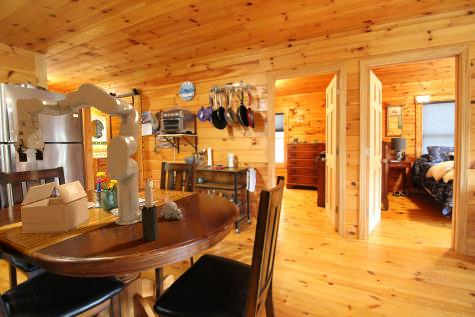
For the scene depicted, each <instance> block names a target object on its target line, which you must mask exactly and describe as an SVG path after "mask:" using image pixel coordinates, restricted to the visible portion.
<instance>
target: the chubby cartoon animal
mask: <svg viewBox="0 0 475 317" xmlns="http://www.w3.org/2000/svg"><path fill="white" fill-rule="evenodd" d="M159 215H160V216H162V217H164V219H166V220H169V219H171V218H174V217H175V218H176V219H177V220H181V219H182V218H183V213H182V208H178V205H177V203H176V202H175V201H173V200H169V201H166V202H164V203H163V206H162V209H161V211H160V214H159Z"/></svg>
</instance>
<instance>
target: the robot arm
mask: <svg viewBox="0 0 475 317" xmlns="http://www.w3.org/2000/svg"><path fill="white" fill-rule="evenodd" d="M91 107H93V108H95V109H96V110H98V111H100V112H102V113H103V114H105V115H108V116H111V117H116V118H120V124H119V127H118V129H119V132H118V135H116V136H114V137H112V138H111V139H110V140H109V142H108V145H107V154H106V155H107V156H106V173H107V175H108V176H109V178H111V179H112V180H115V181H116V182H117V183H116V195H117V214H118V217H117V218H116V219H115V221H114V223H115V225H121V226H124V225H125V226H126V225H133V224H136V223H137V224H138V223H139V222H142V211H141V209H140V199H139V196H140V195H139V172H140V169H139V163H138V162H137V161H136V160H135V159H133V158H131V157H130V156H131V155H134V154H136V152H137V151H138V147H139V146H138V145H139V128H140V127H139V126H140V116H139V112H138V110H137V109H136V107H135V106H133V104H131V103H129V102H128V101H126V100H123V99H121V98H117V97H115V96H113V95H111V94H110V93H108V92H107V91H106V90H105V89H104V88H103V87H100V86H99V85H96V84H93V83H92V82H84V83H82V84H81V85H80V86H78V88H77V90H72V91H69V92H68V93H66V98H65V99H59V100H52V99H47V98H42V97H32V98H18V99H17V100H16V113H17V127H18V128H17V135H16V136H17V137H16V138H17V141H16V142H14V143H13V147H14V148H15V149H14V150H15V151H16V154H17V155H18V162H19V163H27V162H28V153H27V151H28V150H34V151H35V152H34V153H35V155H34V156H35V161H44V150H45V148H46V143H45V142H44V138H43V137H44V136H43V133H42V129H41V127H40V118H39V116H40V115H44V116H50V117H58V116H64V115H69V114H73V113H75V112H76V111H78V110H81V109H86V108H91Z"/></svg>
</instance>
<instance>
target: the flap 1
mask: <svg viewBox="0 0 475 317" xmlns="http://www.w3.org/2000/svg"><path fill="white" fill-rule="evenodd" d="M57 183H58V181H53V182H49V183H43V184H40V185H35V186H31V187H29V189H28V190H27V192H26V194H25V196H24V198H23V200H22V202H21V204H20V205H21V206H25V205H28V204H32V203H35V202H38V201H41V200H45V199H48V198H51V197H50V196H51V194H52V193H53V191H54V189H55V186H57Z"/></svg>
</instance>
